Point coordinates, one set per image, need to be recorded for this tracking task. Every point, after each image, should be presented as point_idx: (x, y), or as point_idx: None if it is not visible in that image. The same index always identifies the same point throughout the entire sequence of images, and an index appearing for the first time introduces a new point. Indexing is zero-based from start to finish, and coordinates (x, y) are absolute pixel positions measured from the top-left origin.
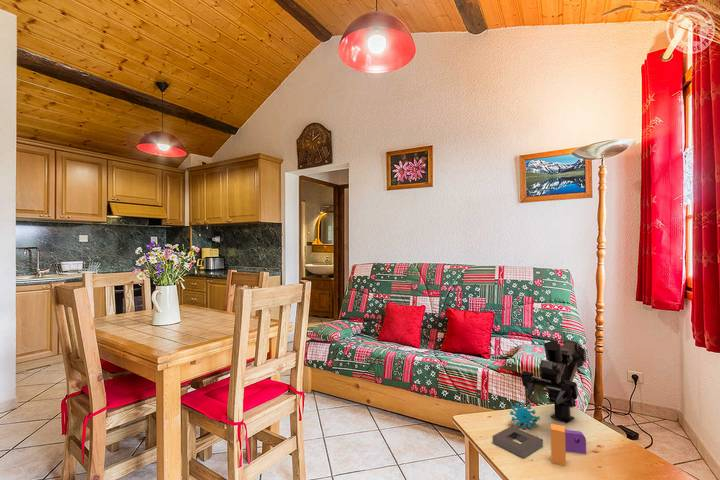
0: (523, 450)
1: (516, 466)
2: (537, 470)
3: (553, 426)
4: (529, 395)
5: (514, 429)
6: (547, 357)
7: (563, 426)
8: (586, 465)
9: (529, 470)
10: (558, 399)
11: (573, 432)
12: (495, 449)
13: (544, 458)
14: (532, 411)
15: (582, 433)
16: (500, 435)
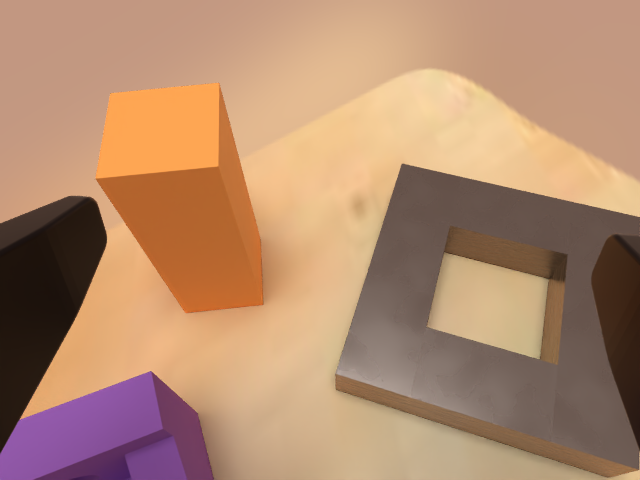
0: (405, 171)
1: (404, 121)
2: (312, 142)
3: (198, 129)
4: (607, 263)
5: (581, 409)
6: None
7: (110, 174)
8: None
9: (344, 125)
10: (8, 222)
11: (57, 426)
12: (560, 192)
13: (300, 255)
14: None
15: None
16: None
